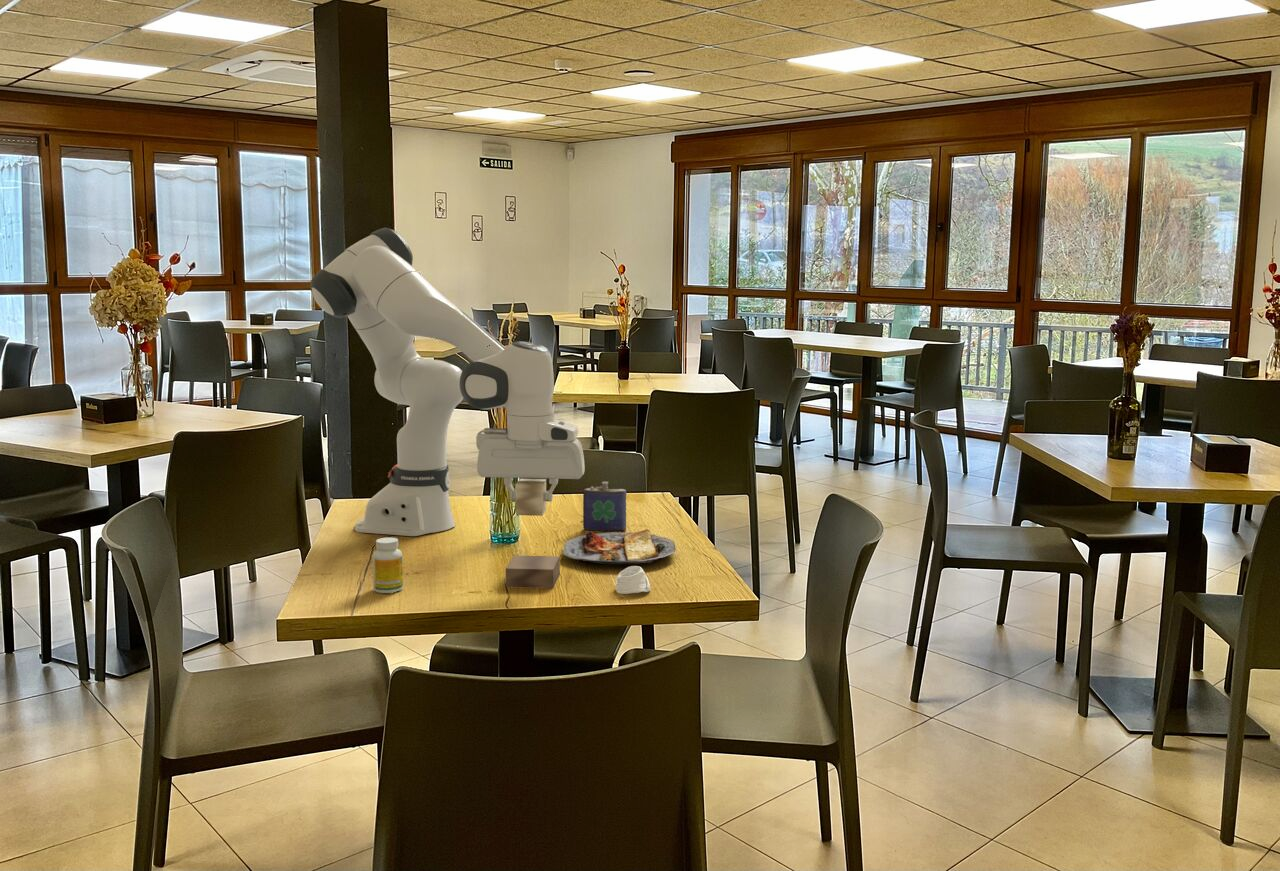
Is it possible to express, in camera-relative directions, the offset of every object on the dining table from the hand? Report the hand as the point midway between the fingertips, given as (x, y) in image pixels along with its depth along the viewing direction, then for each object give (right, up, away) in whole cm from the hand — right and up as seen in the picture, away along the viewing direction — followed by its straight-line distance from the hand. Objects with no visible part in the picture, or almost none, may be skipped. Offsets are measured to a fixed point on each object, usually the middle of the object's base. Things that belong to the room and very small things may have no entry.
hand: (531, 500), depth 202 cm
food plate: (+16, -13, +22) cm, 30 cm away
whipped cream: (+19, -17, -3) cm, 26 cm away
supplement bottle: (-26, -17, -4) cm, 31 cm away
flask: (+13, -10, +42) cm, 44 cm away
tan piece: (0, -2, 0) cm, 2 cm away
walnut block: (0, -16, +3) cm, 16 cm away
